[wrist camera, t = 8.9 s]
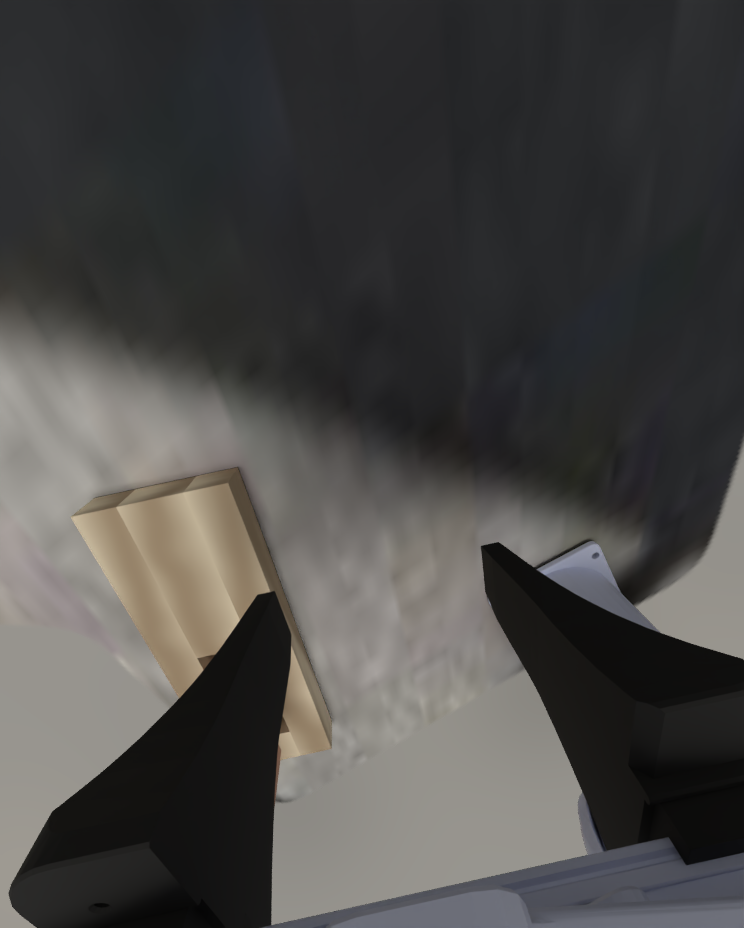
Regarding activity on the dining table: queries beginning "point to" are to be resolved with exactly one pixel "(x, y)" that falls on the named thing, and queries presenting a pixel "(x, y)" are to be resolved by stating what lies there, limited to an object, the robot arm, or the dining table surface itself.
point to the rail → (199, 584)
